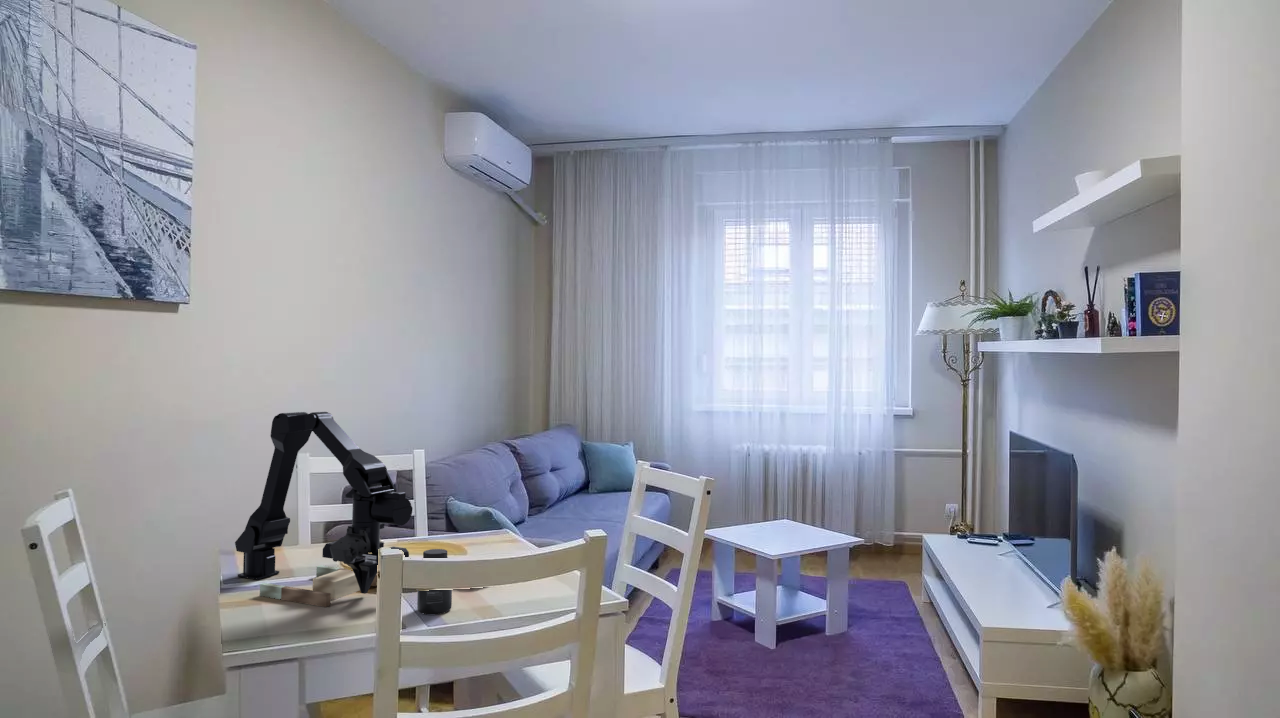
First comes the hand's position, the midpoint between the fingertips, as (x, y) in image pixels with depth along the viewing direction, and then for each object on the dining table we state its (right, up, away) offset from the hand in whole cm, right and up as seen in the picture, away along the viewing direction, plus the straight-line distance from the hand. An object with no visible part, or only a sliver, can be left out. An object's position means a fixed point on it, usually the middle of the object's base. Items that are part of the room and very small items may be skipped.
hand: (364, 593), depth 164 cm
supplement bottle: (+17, -1, -8) cm, 19 cm away
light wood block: (-7, -1, +3) cm, 7 cm away
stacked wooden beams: (-11, -1, +4) cm, 11 cm away
